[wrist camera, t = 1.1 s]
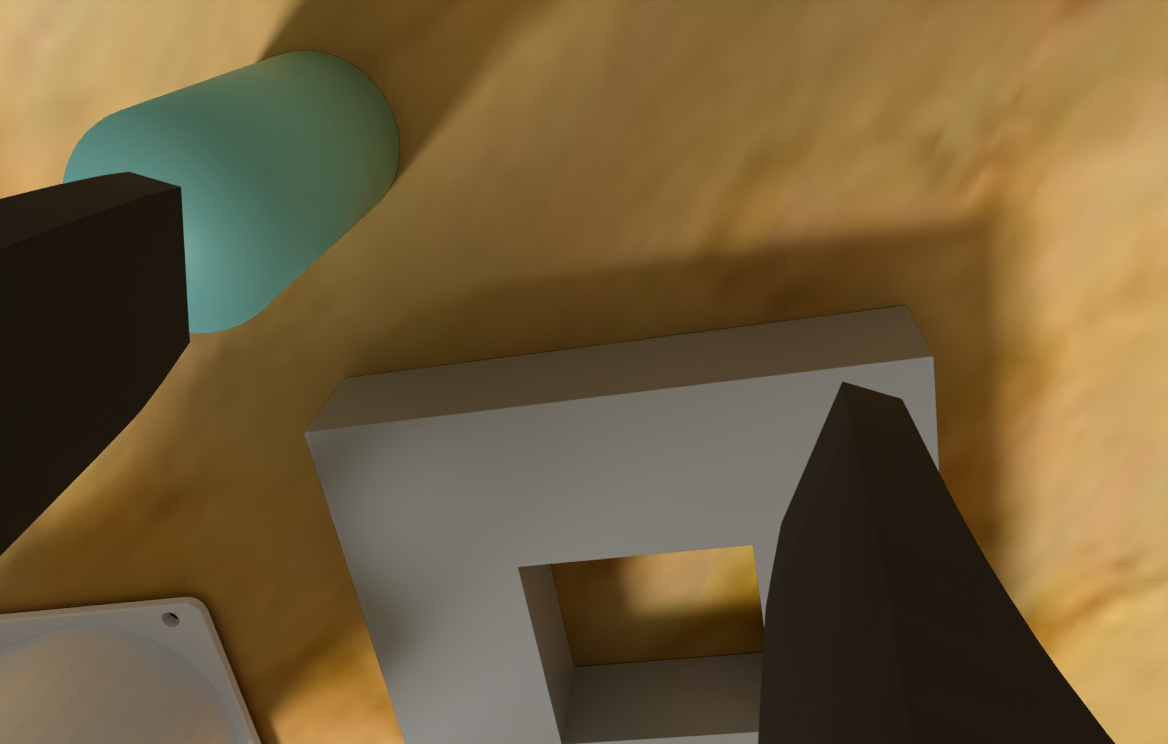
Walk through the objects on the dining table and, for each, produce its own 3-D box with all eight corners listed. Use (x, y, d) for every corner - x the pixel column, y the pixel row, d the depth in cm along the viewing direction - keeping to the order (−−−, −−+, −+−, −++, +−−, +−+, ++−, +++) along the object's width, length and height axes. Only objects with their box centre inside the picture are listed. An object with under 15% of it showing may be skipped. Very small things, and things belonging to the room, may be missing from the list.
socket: (466, 783, 32) (444, 866, 29) (344, 377, 26) (303, 432, 23) (933, 756, 29) (957, 843, 27) (906, 305, 24) (933, 356, 21)
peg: (261, 234, 25) (112, 346, 18) (208, 66, 23) (25, 127, 17) (418, 209, 24) (318, 317, 18) (374, 35, 23) (248, 85, 16)
